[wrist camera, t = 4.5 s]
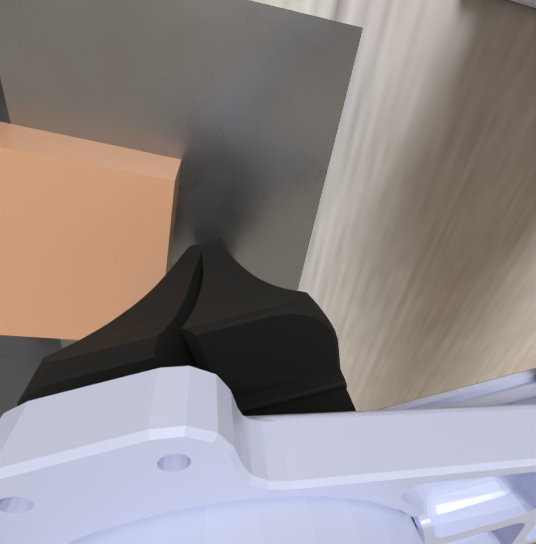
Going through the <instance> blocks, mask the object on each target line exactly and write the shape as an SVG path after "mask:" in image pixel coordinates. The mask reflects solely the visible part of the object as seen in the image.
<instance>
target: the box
mask: <svg viewBox="0 0 536 544" xmlns="http://www.w3.org/2000/svg"><path fill="white" fill-rule="evenodd" d="M0 122H4V123H9V124H11V122H10V118H9V114H8V109H7V105H6V100H5V96H4V92H3V87H2V83H1V79H0ZM61 349H62V345H61V341H60V339H56V338H40V337H24V336H8V335H0V418H1V417H2V415H3V413H5V412H7V411H9V410H11V409H13V408H15V407H17V403H18V401H19V399H20V397H21V395H22V394H23V392H24V390H25V389H26V387H27V385H28V383H29V382H30V380H31V378H32V376H33V375H34V373H35V371H36V370H37V368H38V366H39V364H40V363H41V361H42V359H43V358H44V357H46V356H48V355H50V354H52V353H54V352H57V351H59V350H61Z"/></svg>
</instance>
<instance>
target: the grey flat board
mask: <svg viewBox="0 0 536 544" xmlns="http://www.w3.org/2000/svg"><path fill="white" fill-rule="evenodd" d="M362 29H363V28H361V27H357V26H353V25H349V24H345V23H340V22H336V21H332V20H328V19H324V18H320V17H316V16H312V15H308V14H303V13H299V12H295V11H291V10H287V9H283V8H279V7H275V6H271V5H266V4H262V3H258V2H254V1H250V0H0V79H1V83H2V87H3V92H4V96H5V100H6V105H7V109H8V114H9V118H10V122H11V124H14V125H19V126H23V127H28V128H33V129H38V130H43V131H47V132H52V133H57V134H62V135H67V136H71V137H76V138H81V139H86V140H90V141H95V142H100V143H105V144H110V145H114V146H119V147H124V148H129V149H133V150H138V151H143V152H148V153H153V154H157V155H162V156H167V157H172V158H176V159H181V169H180V179H179V188H178V198H177V207H176V217H175V226H174V236H173V245H172V255H171V264H170V269H171V268H172V267H173V266H174V264H175V263H176V262H177V261H178V260H179V258H180V257H181V256H182V254H183V253H184V252H185V251H186V249H187V248H188V247H189V246H191V245H195V244H199V243H203V242H207V241H211V240H216V239H222V240H224V243H225V246H226V248H227V250H228V251H229V253H230V254H231V255H232V256H233V257H234V259H235V260H236V261H237V262H238V263H239V264H240V265H241V266H243V267H244V268H245V269H246V270H247V271H249V272H250V273H251V274H253V275H254V276H256V277H257V278H259V279H261V280H263V281H265V282H267V283H270V284H272V285H275V286H278V287H281V288H285V289H290V290H295V291H297V290H298V286H299V282H300V278H301V274H302V270H303V266H304V262H305V258H306V254H307V250H308V246H309V242H310V238H311V234H312V230H313V225H314V221H315V217H316V213H317V209H318V205H319V201H320V197H321V193H322V189H323V185H324V181H325V177H326V173H327V169H328V165H329V161H330V157H331V153H332V149H333V145H334V141H335V137H336V133H337V129H338V125H339V121H340V117H341V113H342V109H343V105H344V101H345V97H346V93H347V89H348V85H349V81H350V77H351V73H352V69H353V65H354V61H355V57H356V53H357V49H358V45H359V41H360V37H361V33H362ZM60 341H61V345H62V349H63V348H65V347H67V346H69V345H71V344H73V343H75V342H77V341H79V340H72V339H60Z"/></svg>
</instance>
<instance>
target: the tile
mask: <svg viewBox="0 0 536 544" xmlns="http://www.w3.org/2000/svg"><path fill="white" fill-rule="evenodd" d="M180 169H181V159H176V158H172V157H167V156H162V155H157V154H153V153H148V152H143V151H138V150H133V149H129V148H124V147H119V146H114V145H110V144H105V143H100V142H95V141H90V140H86V139H81V138H76V137H71V136H67V135H62V134H57V133H52V132H47V131H43V130H38V129H33V128H28V127H23V126H19V125H14V124H9V123H4V122H0V335H8V336H24V337H40V338H56V339H72V340H80V339H82V338H84V337H86V336H88V335H89V334H91V333H93V332H95V331H96V330H98V329H100V328H101V327H103V326H105V325H106V324H108V323H109V322H111V321H112V320H114V319H115V318H117V317H118V316H120V315H121V314H122V313H124V312H125V311H126V310H128V309H129V308H131V307H132V306H133V305H135V304H136V303H137V302H138V301H139V300H141V299H142V298H143V297H144V296H145V295H146V294H148V293H149V292H150V291H151V290H152V289H153V288H154V287H155V286H156V285H157V284H158V283H159V282H160V280H161V279H162V278H163V277H164V276H165V275H166V274H167V273H168V272H169V271H170V264H171V255H172V245H173V236H174V226H175V217H176V207H177V198H178V188H179V179H180Z"/></svg>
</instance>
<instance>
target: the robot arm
mask: <svg viewBox="0 0 536 544" xmlns="http://www.w3.org/2000/svg"><path fill="white" fill-rule="evenodd" d="M510 1H514V2H517V3H520V4H524V5H527V6H530V7H534V8H536V0H510ZM346 388H347V385H346V381H345V378H344V376H343V374H342V372H341V370H340V359H339V348H338V339H337V336H336V332H335V330H334V328H333V326H332V324H331V322H330V321H329V319H328V318H327V316H326V315H325V314H324V312H323V311H322V310H321V308H320V307H319V306H318V305H317V303H316V302H315V301H314V300H313V299H312V298H311V297H310V296H309V294H307V293H306V292H301V291H295V290H290V289H285V288H281V287H278V286H275V285H272V284H270V283H267V282H265V281H263V280H261V279H259V278H257V277H256V276H254V275H253V274H251V273H250V272H249V271H247V270H246V269H245V268H244V267H243V266H241V265H240V264H239V263H238V262H237V261H236V260H235V259H234V257H233V256H232V255H231V254H230V253H229V251H228V250H227V248H226V246H225V243H224V240H222V239H216V240H211V241H207V242H203V243H199V244H195V245H191V246H189V247H188V248H187V249H186V251H185V252H184V253H183V254H182V256H181V257H180V258H179V260H178V261H177V262H176V263H175V264H174V266H173V267H172V268H171V269H170V271H169V272H168V273H167V274H166V275H165V276H164V277H163V278H162V279H161V280H160V282H159V283H158V284H157V285H156V286H155V287H154V288H153V289H152V290H151V291H150V292H149V293H148V294H146V295H145V296H144V297H143V298H142V299H141V300H139V301H138V302H137V303H136V304H135V305H133V306H132V307H131V308H129V309H128V310H126V311H125V312H124V313H122V314H121V315H120V316H118V317H117V318H115V319H114V320H112V321H111V322H109V323H108V324H106V325H105V326H103V327H101V328H100V329H98V330H96V331H95V332H93V333H91V334H89V335H88V336H86V337H84V338H82V339H80V340H79V341H77V342H75V343H73V344H71V345H69V346H67V347H65V348H63V349H61V350H59V351H57V352H54V353H52V354H50V355H48V356H46V357H44V358H43V359H42V361H41V363H40V364H39V366H38V368H37V370H36V371H35V373H34V375H33V376H32V378H31V380H30V382H29V383H28V385H27V387H26V389H25V390H24V392H23V394H22V395H21V397H20V399H19V401H18V403H17V407H15V408H13V409H11V410H9V411H7V412H5V413H3V415H2V417H1V418H0V544H530V543H533V542H536V368H533V369H530V370H526V371H522V372H518V373H515V374H511V375H507V376H503V377H500V378H496V379H492V380H488V381H484V382H481V383H477V384H473V385H469V386H466V387H462V388H458V389H454V390H450V391H447V392H443V393H439V394H435V395H432V396H428V397H424V398H420V399H417V400H413V401H409V402H405V403H401V404H398V405H394V406H390V407H386V408H383V409H379V410H375V411H356V410H355V407H354V405H353V403H352V400H351V398H350V396H349V394H348V391H347V389H346Z"/></svg>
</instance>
